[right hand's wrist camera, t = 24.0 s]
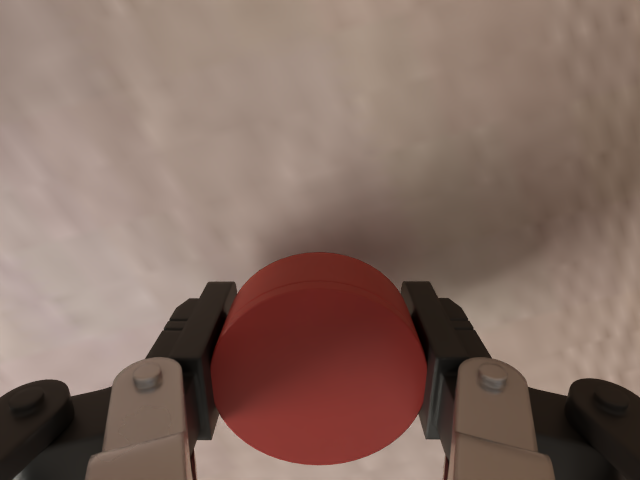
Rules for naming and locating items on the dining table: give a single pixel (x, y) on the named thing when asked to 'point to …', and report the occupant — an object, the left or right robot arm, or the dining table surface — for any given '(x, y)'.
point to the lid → (318, 361)
